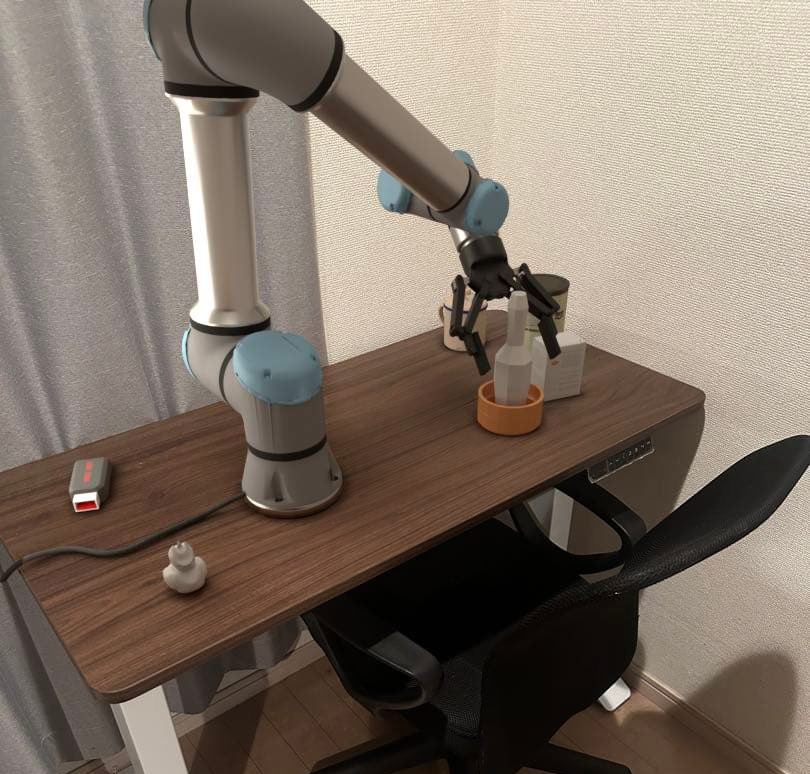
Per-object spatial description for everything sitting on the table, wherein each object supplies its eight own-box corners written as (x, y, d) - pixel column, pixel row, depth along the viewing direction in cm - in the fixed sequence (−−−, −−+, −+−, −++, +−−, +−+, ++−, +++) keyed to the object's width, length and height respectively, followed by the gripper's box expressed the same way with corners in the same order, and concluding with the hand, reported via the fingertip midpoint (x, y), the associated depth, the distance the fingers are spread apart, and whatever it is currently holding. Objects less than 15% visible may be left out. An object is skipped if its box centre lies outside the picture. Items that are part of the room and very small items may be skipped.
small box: (564, 382, 144) (571, 329, 137) (580, 395, 139) (588, 341, 133) (527, 389, 141) (532, 336, 135) (542, 402, 137) (548, 348, 131)
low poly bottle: (496, 406, 135) (504, 284, 121) (531, 412, 133) (543, 289, 120) (486, 423, 130) (494, 297, 117) (522, 429, 128) (534, 302, 115)
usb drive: (112, 467, 122) (107, 452, 120) (106, 509, 112) (101, 494, 111) (78, 471, 121) (73, 457, 119) (69, 514, 111) (64, 499, 110)
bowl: (506, 443, 126) (509, 414, 122) (463, 418, 133) (465, 389, 130) (554, 423, 131) (558, 395, 128) (510, 400, 138) (513, 372, 135)
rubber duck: (176, 606, 95) (163, 557, 90) (159, 578, 100) (146, 529, 95) (216, 590, 97) (206, 542, 93) (198, 563, 102) (187, 515, 97)
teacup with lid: (494, 343, 158) (498, 288, 151) (465, 356, 154) (468, 300, 146) (453, 328, 165) (454, 274, 158) (424, 340, 160) (424, 285, 153)
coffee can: (519, 336, 161) (525, 270, 152) (567, 344, 158) (575, 276, 149) (504, 355, 154) (509, 286, 145) (554, 363, 150) (562, 293, 142)
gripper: (531, 247, 132) (572, 358, 131) (404, 268, 124) (446, 388, 122) (552, 222, 125) (595, 340, 124) (419, 244, 117) (463, 370, 115)
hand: (521, 364), depth 123 cm, fingers open, 13 cm apart
